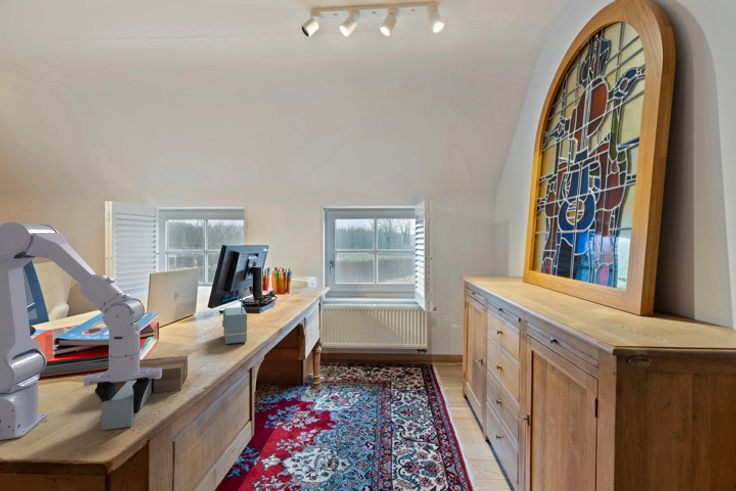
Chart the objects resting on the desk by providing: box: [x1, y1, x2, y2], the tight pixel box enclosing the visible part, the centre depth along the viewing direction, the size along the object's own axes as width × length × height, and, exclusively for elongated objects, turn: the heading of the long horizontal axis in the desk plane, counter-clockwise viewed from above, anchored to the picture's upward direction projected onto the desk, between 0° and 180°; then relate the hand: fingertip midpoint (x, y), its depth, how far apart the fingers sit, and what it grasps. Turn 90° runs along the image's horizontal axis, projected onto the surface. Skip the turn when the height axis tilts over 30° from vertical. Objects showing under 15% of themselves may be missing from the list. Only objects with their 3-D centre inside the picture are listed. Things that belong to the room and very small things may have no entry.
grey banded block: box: [221, 293, 248, 345], centre depth 140 cm, size 16×9×20 cm, turn 25°
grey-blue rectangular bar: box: [101, 379, 153, 431], centre depth 81 cm, size 17×5×6 cm, turn 19°
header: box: [104, 355, 189, 395], centre depth 94 cm, size 10×18×6 cm, turn 109°
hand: (124, 413), depth 77 cm, fingers closed on grey-blue rectangular bar, 4 cm apart
